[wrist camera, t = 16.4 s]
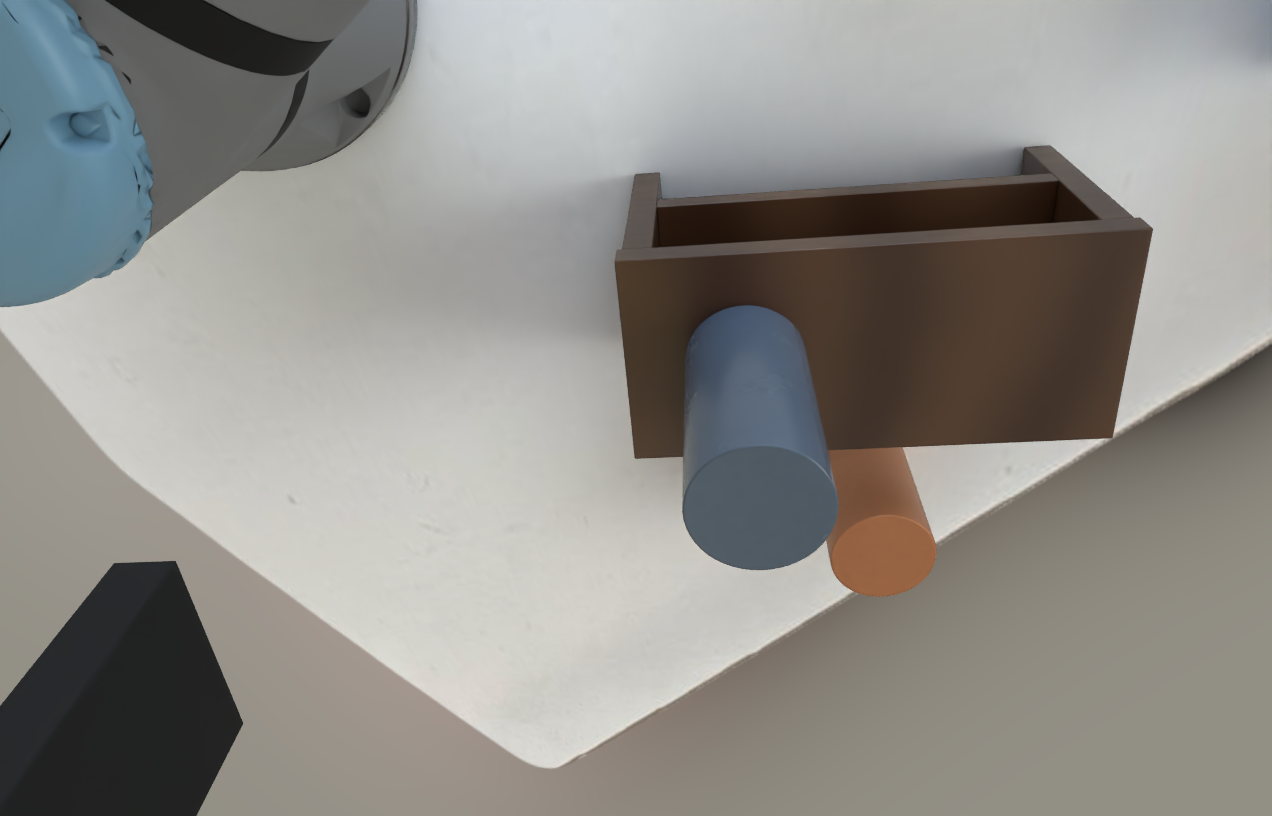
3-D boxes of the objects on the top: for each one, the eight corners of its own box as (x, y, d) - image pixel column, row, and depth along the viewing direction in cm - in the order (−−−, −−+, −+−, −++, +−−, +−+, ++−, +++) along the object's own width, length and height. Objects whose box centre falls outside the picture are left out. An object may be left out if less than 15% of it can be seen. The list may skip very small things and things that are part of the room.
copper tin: (808, 404, 52) (831, 517, 43) (899, 400, 51) (940, 513, 43) (807, 478, 54) (829, 598, 46) (894, 474, 54) (933, 595, 45)
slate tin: (688, 414, 40) (687, 573, 31) (681, 308, 37) (677, 448, 29) (806, 408, 39) (837, 568, 31) (806, 301, 37) (840, 441, 28)
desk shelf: (645, 342, 51) (634, 459, 41) (630, 174, 46) (614, 261, 37) (1031, 322, 49) (1113, 438, 39) (1055, 144, 44) (1153, 228, 35)
